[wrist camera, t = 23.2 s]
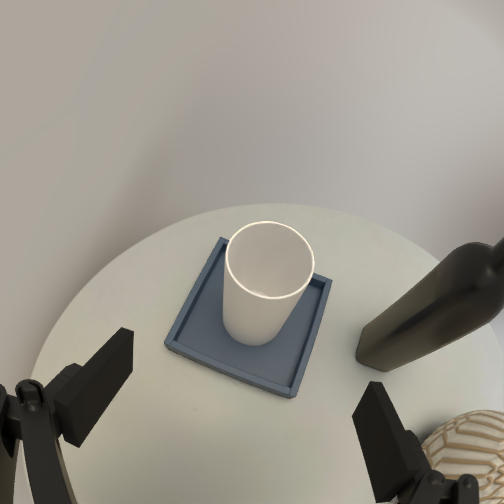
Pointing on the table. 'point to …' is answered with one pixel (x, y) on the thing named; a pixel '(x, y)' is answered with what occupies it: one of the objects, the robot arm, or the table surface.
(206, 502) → the table surface
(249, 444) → the table surface
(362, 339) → the wine bottle
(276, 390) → the cup tray
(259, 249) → the cup
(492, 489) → the vase
